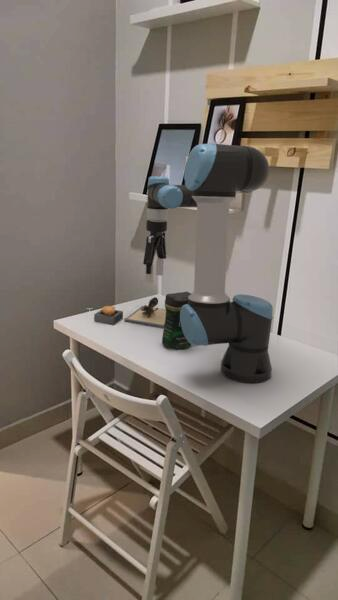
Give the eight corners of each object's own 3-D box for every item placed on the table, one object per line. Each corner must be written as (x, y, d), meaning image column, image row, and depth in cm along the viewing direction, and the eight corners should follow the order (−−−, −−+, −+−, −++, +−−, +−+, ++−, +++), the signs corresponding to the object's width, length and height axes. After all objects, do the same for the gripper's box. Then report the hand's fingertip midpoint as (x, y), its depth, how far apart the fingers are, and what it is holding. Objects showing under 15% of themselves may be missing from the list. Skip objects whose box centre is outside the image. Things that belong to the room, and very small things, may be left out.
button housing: (113, 325, 174) (114, 317, 173) (94, 321, 177) (94, 314, 176) (122, 318, 181) (122, 311, 181) (103, 315, 184) (103, 308, 183)
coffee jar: (171, 352, 153) (174, 298, 148) (158, 343, 160) (161, 291, 154) (195, 347, 159) (199, 294, 153) (182, 339, 165) (185, 288, 159)
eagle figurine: (163, 316, 180) (162, 304, 188) (153, 301, 177) (153, 290, 185) (146, 324, 181) (145, 313, 189) (136, 311, 178) (136, 299, 186)
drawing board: (164, 328, 174) (164, 325, 173) (124, 321, 178) (124, 319, 178) (179, 314, 190) (179, 311, 190) (142, 308, 195) (142, 305, 194)
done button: (111, 316, 176) (111, 310, 175) (100, 314, 177) (100, 308, 176) (116, 313, 180) (117, 306, 179) (105, 311, 181) (106, 305, 180)
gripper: (158, 215, 184) (155, 270, 191) (135, 223, 163) (133, 284, 170) (176, 217, 182) (173, 273, 189) (155, 225, 161) (152, 287, 168)
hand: (154, 278), depth 179 cm, fingers open, 11 cm apart
